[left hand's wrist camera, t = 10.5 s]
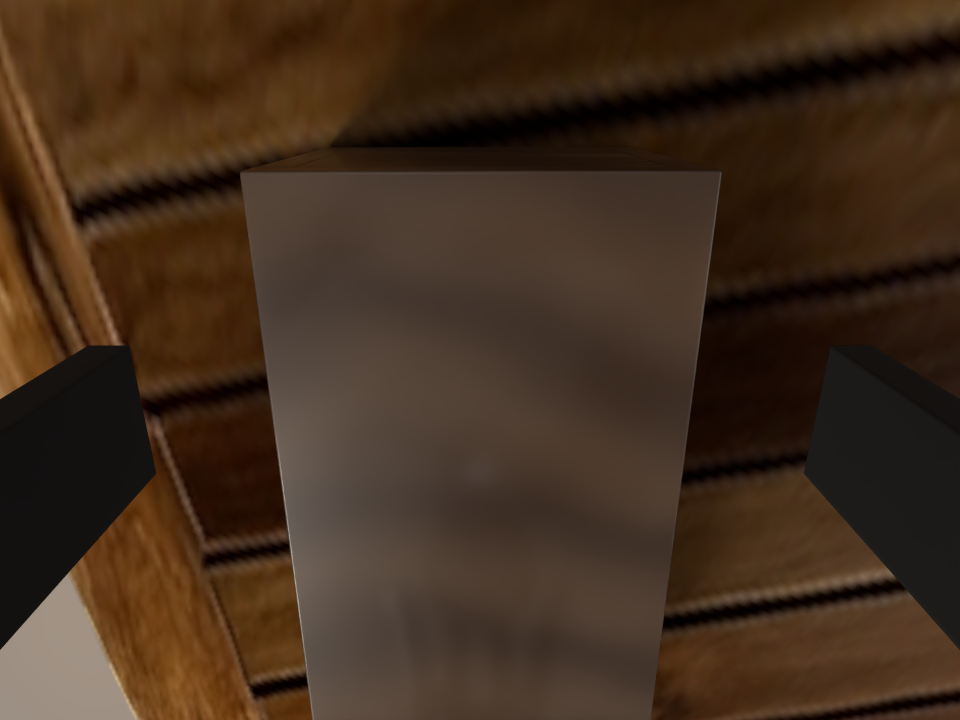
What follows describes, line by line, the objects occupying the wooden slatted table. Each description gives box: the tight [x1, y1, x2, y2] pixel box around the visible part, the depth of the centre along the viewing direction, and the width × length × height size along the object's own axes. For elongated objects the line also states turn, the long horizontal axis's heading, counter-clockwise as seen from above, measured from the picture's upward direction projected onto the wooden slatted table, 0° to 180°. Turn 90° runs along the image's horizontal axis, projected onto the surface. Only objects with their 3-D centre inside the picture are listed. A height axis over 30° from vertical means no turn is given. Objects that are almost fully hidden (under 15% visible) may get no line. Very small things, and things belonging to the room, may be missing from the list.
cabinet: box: [240, 147, 722, 720], centre depth 24 cm, size 20×12×10 cm, turn 0°
